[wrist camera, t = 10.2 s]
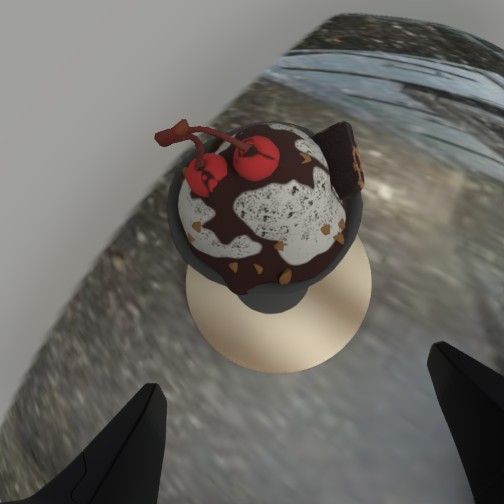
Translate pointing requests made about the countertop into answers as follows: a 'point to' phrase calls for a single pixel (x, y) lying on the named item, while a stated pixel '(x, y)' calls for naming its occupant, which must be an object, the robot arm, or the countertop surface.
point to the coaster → (285, 318)
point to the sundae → (266, 207)
